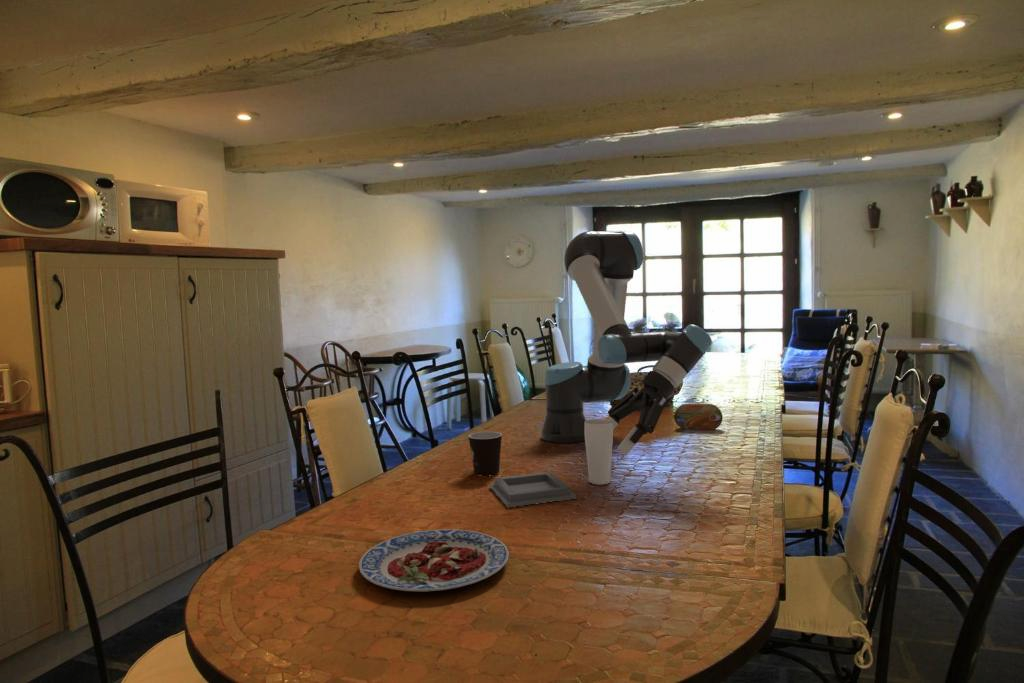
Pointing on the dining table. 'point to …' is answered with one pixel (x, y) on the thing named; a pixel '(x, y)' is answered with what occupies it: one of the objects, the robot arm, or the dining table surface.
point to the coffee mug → (485, 452)
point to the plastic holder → (531, 489)
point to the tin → (698, 416)
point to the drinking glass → (599, 450)
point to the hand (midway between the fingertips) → (608, 445)
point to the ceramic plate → (433, 560)
